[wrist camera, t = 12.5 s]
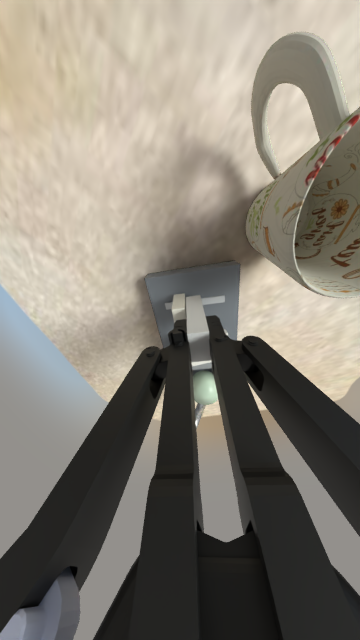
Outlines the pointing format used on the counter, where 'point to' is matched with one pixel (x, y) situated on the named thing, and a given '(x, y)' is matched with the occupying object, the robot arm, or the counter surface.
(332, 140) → the mug
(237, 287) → the panel
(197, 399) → the button
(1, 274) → the counter surface
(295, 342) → the counter surface
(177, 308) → the slider
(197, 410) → the lever
